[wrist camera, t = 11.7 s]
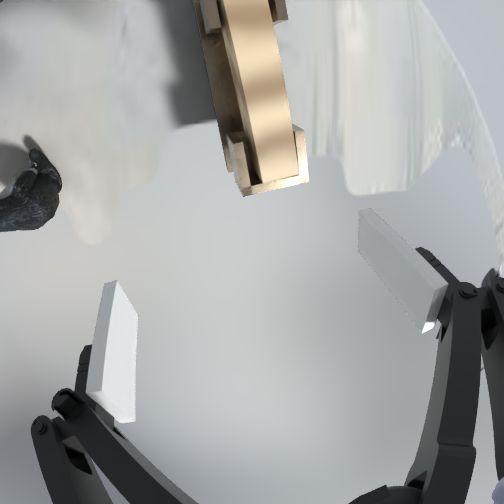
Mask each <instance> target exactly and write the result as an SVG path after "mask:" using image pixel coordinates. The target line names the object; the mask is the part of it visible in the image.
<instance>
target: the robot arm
mask: <svg viewBox="0 0 504 504" xmlns="http://www.w3.org/2000/svg"><path fill="white" fill-rule="evenodd" d="M2 1H3V0H0V2H2ZM358 252H359V253H360V255H361V256H362V257H363V258H364V260H365V261H366V262H367V263H368V264H369V266H370V267H371V268H372V269H373V271H374V272H375V273H376V274H377V276H378V277H379V278H380V279H381V281H382V282H383V283H384V284H385V286H386V287H387V288H388V289H389V291H390V292H391V293H392V295H393V296H394V297H395V299H396V300H397V301H398V302H399V304H400V305H401V306H402V308H403V309H404V310H405V312H406V313H407V314H408V316H409V317H410V318H411V320H412V321H413V322H414V324H415V325H416V326H417V328H418V329H419V330H420V332H421V333H424V332H426V331H428V330H430V329H431V328H434V326H435V324H436V321H437V319H438V320H439V321H440V323H441V327H440V329H439V332H438V334H437V337H436V339H438V338H439V342H438V351H437V359H436V366H435V373H434V379H433V385H432V390H431V396H430V401H429V406H428V411H427V415H426V420H425V424H424V428H423V432H422V436H421V441H420V444H419V448H418V451H417V455H416V458H415V461H414V463H413V465H412V467H411V469H410V471H409V473H408V476H407V478H406V481H405V484H404V486H393V487H387V486H386V485H384V486H382V487H380V488H377V489H375V490H373V491H371V492H368V493H366V494H364V495H361V496H359V497H358V498H356V499H355V500H353V501H352V502H350V503H349V504H464V503H465V500H466V496H467V493H468V489H469V485H470V481H471V477H472V473H473V468H474V464H475V459H476V448H475V447H474V446H473V436H474V430H475V423H476V416H477V408H478V398H479V386H480V371H481V353H482V358H483V363H484V368H485V372H486V378H487V384H488V390H489V396H490V404H491V411H492V420H493V430H494V443H495V460H496V469H497V476H498V480H499V482H498V484H497V485H496V488H495V490H494V491H493V493H492V499H493V500H494V504H504V278H501V277H496V278H493V279H492V280H491V283H490V286H488V287H481V288H476V287H475V286H474V285H472V284H471V283H468V282H460V281H459V280H458V279H456V277H455V276H454V275H453V274H452V273H451V272H450V271H449V270H448V269H447V268H446V267H445V266H444V265H443V264H441V262H440V261H439V260H438V259H436V257H435V256H434V255H433V254H432V253H431V252H430V251H428V250H426V249H424V248H422V247H419V248H416V249H414V248H413V247H412V246H411V245H410V244H409V243H408V242H407V241H406V240H405V239H404V238H403V237H402V236H401V235H400V234H399V233H398V232H397V231H395V230H394V229H393V228H392V227H391V226H390V225H389V224H388V223H387V222H386V221H385V220H384V219H382V218H381V217H380V216H379V215H378V214H377V213H376V212H375V211H374V210H373V209H371V208H368V209H364V210H360V211H359V236H358ZM137 325H138V315H137V314H136V312H135V310H134V308H133V307H132V305H131V303H130V302H129V300H128V298H127V297H126V295H125V293H124V291H123V290H122V288H121V286H120V284H119V283H118V281H117V280H115V281H112V282H109V283H105V284H104V288H103V293H102V298H101V302H100V307H99V312H98V317H97V322H96V327H95V332H94V338H93V344H92V345H87V346H85V347H84V349H83V351H82V352H81V354H80V359H79V366H78V370H77V372H78V373H77V377H76V384H75V391H72V390H71V389H68V388H65V389H61V390H60V391H58V392H57V393H56V395H55V396H54V397H53V400H52V406H51V407H52V410H53V412H54V413H56V414H57V415H58V417H56V418H54V419H52V420H51V419H49V418H48V417H47V416H44V415H41V416H38V417H37V418H36V419H35V420H34V421H33V423H32V426H31V435H32V439H33V443H34V447H35V451H36V454H37V458H38V461H39V465H40V468H41V471H42V474H43V477H44V480H45V483H46V486H47V489H48V491H49V494H50V496H51V499H52V502H53V504H113V502H112V501H111V499H110V497H109V495H108V493H107V491H106V490H105V488H104V485H103V484H102V481H101V479H100V477H99V475H98V473H97V471H96V469H95V467H94V465H93V462H92V460H91V458H92V459H93V461H94V462H95V463H96V465H97V466H98V467H99V468H100V469H101V471H102V472H103V473H104V474H105V476H106V477H107V478H108V479H109V480H110V482H111V483H112V484H113V485H114V486H115V487H116V488H117V490H118V491H119V492H120V493H121V494H122V495H123V496H124V497H125V498H126V500H127V501H128V502H129V503H130V504H198V503H197V502H196V501H194V500H193V499H192V498H190V497H189V496H188V495H187V494H186V493H184V492H183V491H182V490H181V489H180V488H178V487H177V486H176V485H175V484H174V483H173V482H172V481H170V480H169V479H168V478H167V477H166V476H165V475H163V473H161V472H160V471H159V470H158V469H157V468H156V467H155V466H154V465H153V464H152V463H151V462H150V461H149V460H148V459H147V458H145V456H144V455H142V454H141V453H140V452H139V451H138V450H137V449H136V447H135V446H133V444H132V443H131V442H130V441H129V440H128V439H127V438H126V437H125V436H124V435H123V434H122V433H121V432H120V431H119V429H118V428H117V427H115V426H114V418H115V419H116V420H117V421H118V422H120V423H127V422H134V421H135V371H136V343H137ZM90 457H91V458H90Z"/></svg>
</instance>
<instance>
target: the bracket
mask: <svg viewBox="0 0 504 504" xmlns="http://www.w3.org/2000/svg"><path fill="white" fill-rule="evenodd" d="M216 1H217V0H193V4H194V9H195V14H196V19H197V24H198V29H199V34H200V39H201V44H202V49H203V54H204V59H205V64H206V69H207V73H208V78H209V83H210V88H211V93H212V98H213V103H214V108H215V113H216V117H217V122H218V127H219V132H220V136H221V141H222V146H223V150H224V155H225V161H226V165H227V170H228V172H233V171H234V176H235V180H236V183H237V185H238V187H239V189H240V191H241V193H242V195H243V197H245V196H248V195H253V194H257V193H261V192H265V191H270V190H274V189H278V188H283V187H287V186H292V185H296V184H301V183H305V182H309V178H308V167H307V156H306V146H305V136H304V130H302V129H301V128H299V127H297V126H295V125H294V124H292V128H293V135H294V141H295V148H296V154H297V161H298V168H299V174H298V175H294V176H290V177H286V178H282V179H278V180H274V181H271V182H267V183H262V181H261V180H260V178H259V177H258V175H257V174H256V173H255V171H254V170H253V168H252V164H251V159H250V154H249V150H248V145H247V140H246V136H245V131H244V126H243V122H242V117H241V113H240V108H239V104H238V99H237V95H236V90H235V86H234V81H233V77H232V73H231V68H230V64H229V59H228V55H227V51H226V47H225V42H224V38H223V34H222V29H221V24H220V19H219V13H218V8H217V3H216ZM268 4H269V8H270V12H271V17H272V21H273V25H275V24H278V23H281V22H283V21H286V20H288V15H287V9H286V4H285V0H268Z"/></svg>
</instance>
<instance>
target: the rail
mask: <svg viewBox="0 0 504 504" xmlns="http://www.w3.org/2000/svg"><path fill="white" fill-rule="evenodd" d="M216 3H217V8H218V13H219V19H220V24H221V29H222V34H223V38H224V42H225V47H226V51H227V55H228V59H229V64H230V68H231V73H232V77H233V81H234V86H235V90H236V95H237V99H238V104H239V108H240V113H241V117H242V122H243V126H244V131H245V136H246V140H247V145H248V150H249V154H250V159H251V164H252V168H253V170H254V171H255V173H256V174H257V175H258V177H259V178H260V180H261V181H262V183H267V182H271V181H274V180H278V179H282V178H286V177H290V176H294V175H298V174H299V168H298V161H297V154H296V148H295V141H294V135H293V128H292V122H291V116H290V110H289V104H288V98H287V93H286V87H285V81H284V76H283V71H282V65H281V60H280V55H279V50H278V45H277V40H276V36H275V31H274V26H273V21H272V17H271V12H270V8H269V4H268V0H217V1H216Z"/></svg>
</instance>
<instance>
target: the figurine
mask: <svg viewBox="0 0 504 504" xmlns="http://www.w3.org/2000/svg"><path fill="white" fill-rule="evenodd" d="M29 158H30V160H29V163H28V164H29V169H28V170H27V171H22V172H19V173H17V174H16V175H15V176H14V177H13V178H12V180H11V184H10V185H9V186H7V187H6V188H5V189H4V190H3V191H2V192H1V193H0V232H7V231H16V230H35V229H39V228H40V227H41V226H43V225H44V224H45V223H46V222H47V221H48V220H50V219H51V218H53V217H54V215H55V212H56V210H57V208H58V205H59V194H58V193H59V192H60V191H61V188H62V181H61V177H60V174H59V173H58V172H57V171H56V169H55V168H54V167H53V166H52V165H51V164H50V162H49V161H48V160H47V158H46V157H45V156H44V155H43V154H42V153H41V152H39V151H38V150H36V149H31V150H30V154H29Z"/></svg>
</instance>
